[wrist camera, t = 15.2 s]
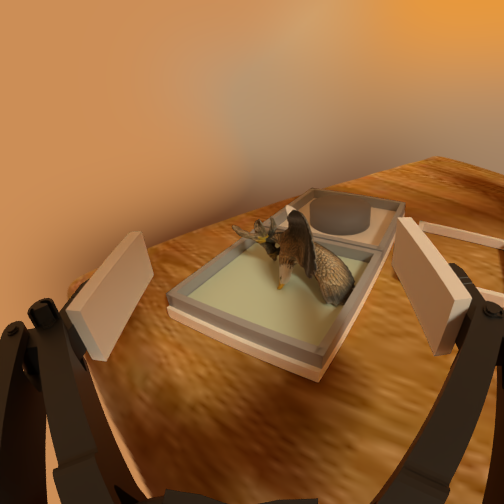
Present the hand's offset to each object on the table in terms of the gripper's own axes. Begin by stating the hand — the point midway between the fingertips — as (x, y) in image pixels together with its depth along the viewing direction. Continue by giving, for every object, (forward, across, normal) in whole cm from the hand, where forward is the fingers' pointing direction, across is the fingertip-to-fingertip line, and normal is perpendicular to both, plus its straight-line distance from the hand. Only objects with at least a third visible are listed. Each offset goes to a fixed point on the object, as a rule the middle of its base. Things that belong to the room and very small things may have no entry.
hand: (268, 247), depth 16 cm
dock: (+13, +4, -9) cm, 16 cm away
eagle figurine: (+8, +2, -8) cm, 11 cm away
